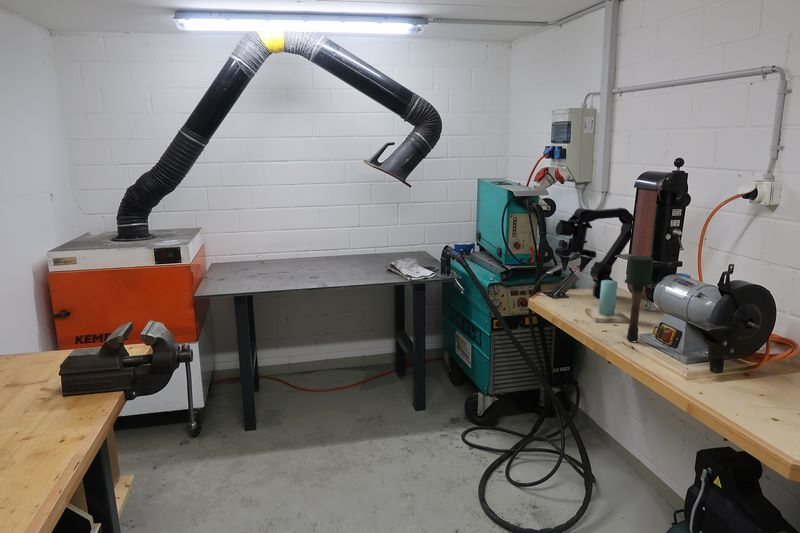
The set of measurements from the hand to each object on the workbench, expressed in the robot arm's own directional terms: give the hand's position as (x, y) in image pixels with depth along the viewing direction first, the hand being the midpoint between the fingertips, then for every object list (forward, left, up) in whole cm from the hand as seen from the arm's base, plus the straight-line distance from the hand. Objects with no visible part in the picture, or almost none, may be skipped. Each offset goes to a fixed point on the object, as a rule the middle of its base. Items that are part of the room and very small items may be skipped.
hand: (572, 271), depth 238 cm
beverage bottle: (-29, +37, -13) cm, 49 cm away
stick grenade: (-6, +54, -13) cm, 56 cm away
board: (-7, +27, -12) cm, 30 cm away
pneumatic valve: (-29, +17, -13) cm, 36 cm away
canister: (-7, +27, -11) cm, 30 cm away
